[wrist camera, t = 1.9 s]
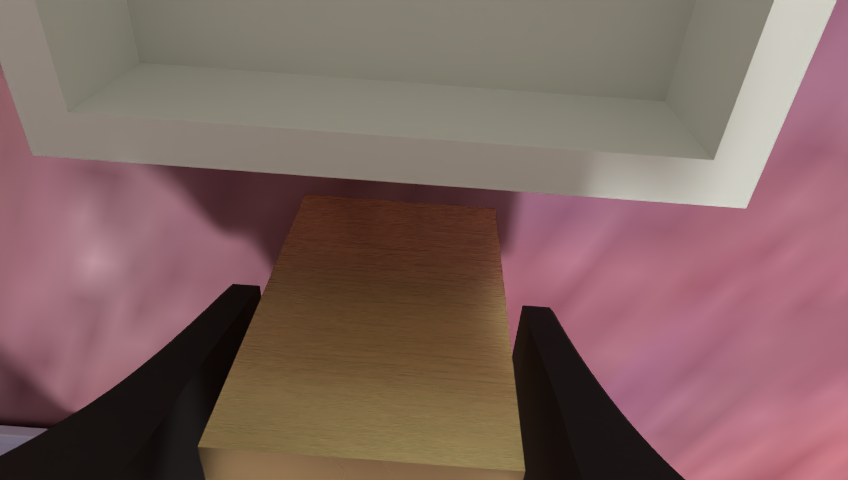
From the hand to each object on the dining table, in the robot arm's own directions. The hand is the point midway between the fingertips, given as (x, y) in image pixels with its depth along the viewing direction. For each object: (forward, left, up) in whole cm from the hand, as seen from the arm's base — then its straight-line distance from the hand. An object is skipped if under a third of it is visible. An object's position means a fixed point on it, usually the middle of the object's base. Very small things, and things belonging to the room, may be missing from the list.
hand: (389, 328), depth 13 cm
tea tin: (0, 0, -2) cm, 2 cm away
